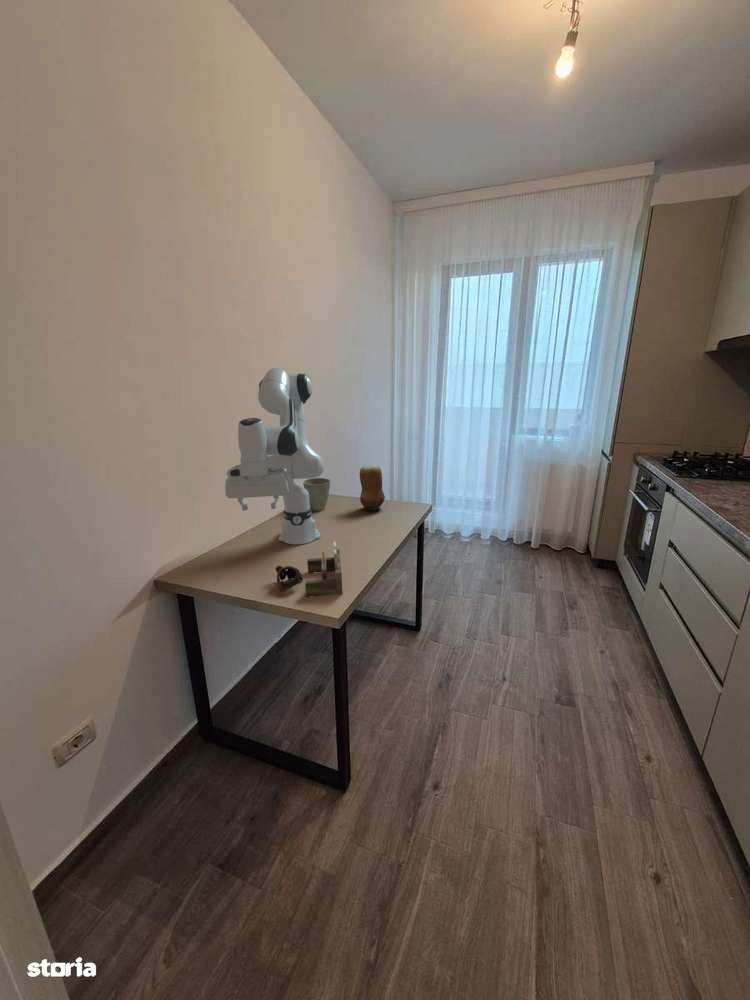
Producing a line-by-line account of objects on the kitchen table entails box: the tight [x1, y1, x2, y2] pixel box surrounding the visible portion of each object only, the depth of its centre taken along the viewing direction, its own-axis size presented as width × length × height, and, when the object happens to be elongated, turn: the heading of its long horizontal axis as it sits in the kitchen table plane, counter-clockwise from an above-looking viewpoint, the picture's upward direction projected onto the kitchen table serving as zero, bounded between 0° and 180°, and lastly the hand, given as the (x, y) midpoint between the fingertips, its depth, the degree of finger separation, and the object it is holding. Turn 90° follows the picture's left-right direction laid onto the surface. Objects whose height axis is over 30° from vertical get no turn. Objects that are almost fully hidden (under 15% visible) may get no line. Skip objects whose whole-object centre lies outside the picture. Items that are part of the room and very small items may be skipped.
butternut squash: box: [359, 464, 386, 511], centre depth 216 cm, size 14×13×25 cm
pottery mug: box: [275, 565, 303, 591], centre depth 140 cm, size 12×10×8 cm
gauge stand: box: [304, 540, 344, 598], centre depth 140 cm, size 19×12×13 cm, turn 7°
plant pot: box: [302, 477, 331, 512], centre depth 221 cm, size 15×15×16 cm
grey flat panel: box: [321, 551, 328, 580], centre depth 140 cm, size 10×2×11 cm, turn 7°
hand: (259, 509), depth 135 cm, fingers open, 8 cm apart
